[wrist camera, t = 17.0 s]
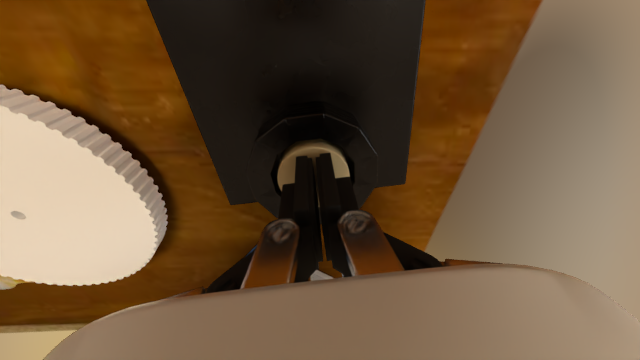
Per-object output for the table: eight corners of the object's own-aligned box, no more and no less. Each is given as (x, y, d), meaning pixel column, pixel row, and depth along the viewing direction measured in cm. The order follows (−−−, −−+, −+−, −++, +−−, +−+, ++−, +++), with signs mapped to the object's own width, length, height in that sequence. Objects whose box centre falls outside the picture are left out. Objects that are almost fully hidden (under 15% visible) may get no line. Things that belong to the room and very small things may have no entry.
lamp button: (346, 184, 15) (351, 203, 13) (286, 191, 15) (284, 211, 13) (342, 128, 13) (348, 142, 11) (273, 136, 13) (270, 152, 11)
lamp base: (396, 179, 17) (415, 212, 14) (239, 198, 17) (226, 235, 14) (424, -164, 9) (486, -255, 6) (119, -121, 9) (28, -190, 6)
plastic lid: (-153, 163, 14) (-233, 191, 12) (-33, 2, 10) (-117, 1, 8) (97, 277, 21) (76, 306, 19) (216, 206, 18) (206, 233, 16)
